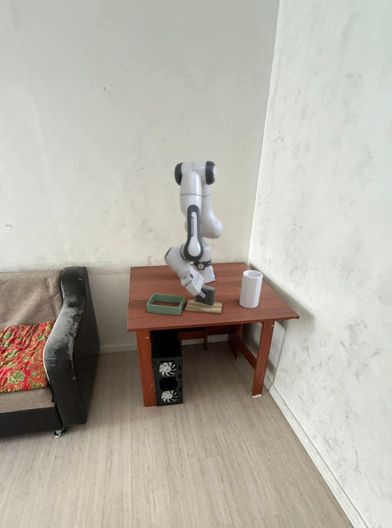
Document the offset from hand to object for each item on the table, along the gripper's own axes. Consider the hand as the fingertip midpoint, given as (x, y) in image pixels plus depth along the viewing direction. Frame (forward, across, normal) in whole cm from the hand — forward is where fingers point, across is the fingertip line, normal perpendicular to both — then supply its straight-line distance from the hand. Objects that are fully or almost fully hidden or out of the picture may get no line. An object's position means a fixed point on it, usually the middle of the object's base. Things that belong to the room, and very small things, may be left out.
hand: (205, 293), depth 161 cm
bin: (-9, +4, -22) cm, 24 cm away
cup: (+24, -10, +11) cm, 28 cm away
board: (+6, -1, -7) cm, 9 cm away
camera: (+4, 0, -5) cm, 6 cm away
